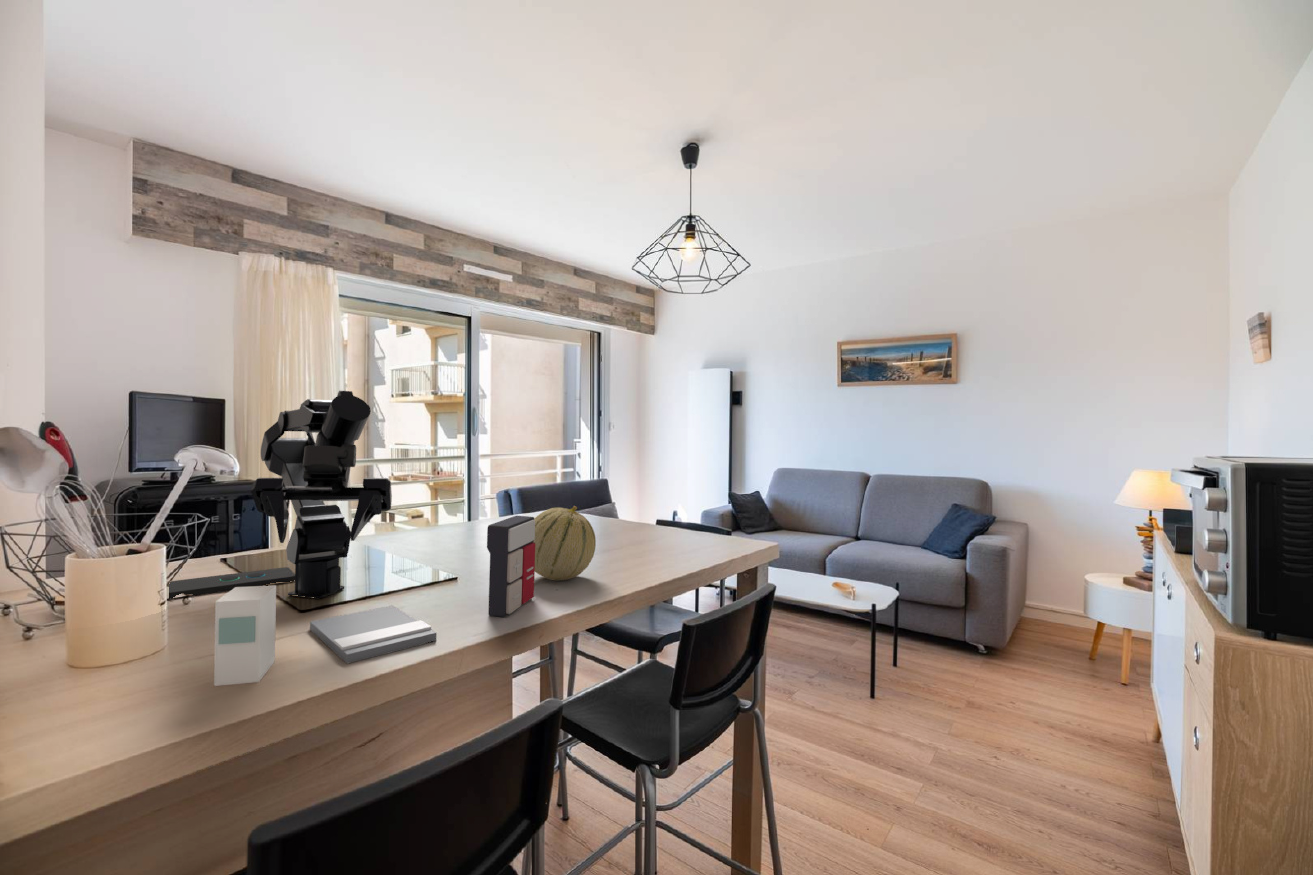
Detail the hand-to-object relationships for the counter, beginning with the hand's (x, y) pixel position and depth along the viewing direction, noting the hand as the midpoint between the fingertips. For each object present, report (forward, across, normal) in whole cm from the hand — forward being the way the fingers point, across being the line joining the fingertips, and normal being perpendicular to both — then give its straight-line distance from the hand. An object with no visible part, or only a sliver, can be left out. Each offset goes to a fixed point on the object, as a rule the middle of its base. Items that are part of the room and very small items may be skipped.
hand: (317, 540), depth 86 cm
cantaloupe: (-4, +40, +23) cm, 47 cm away
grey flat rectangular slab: (+12, +8, +7) cm, 16 cm away
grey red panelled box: (+7, +29, +12) cm, 32 cm away
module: (+19, -5, 0) cm, 20 cm away
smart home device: (-10, -19, +31) cm, 37 cm away
